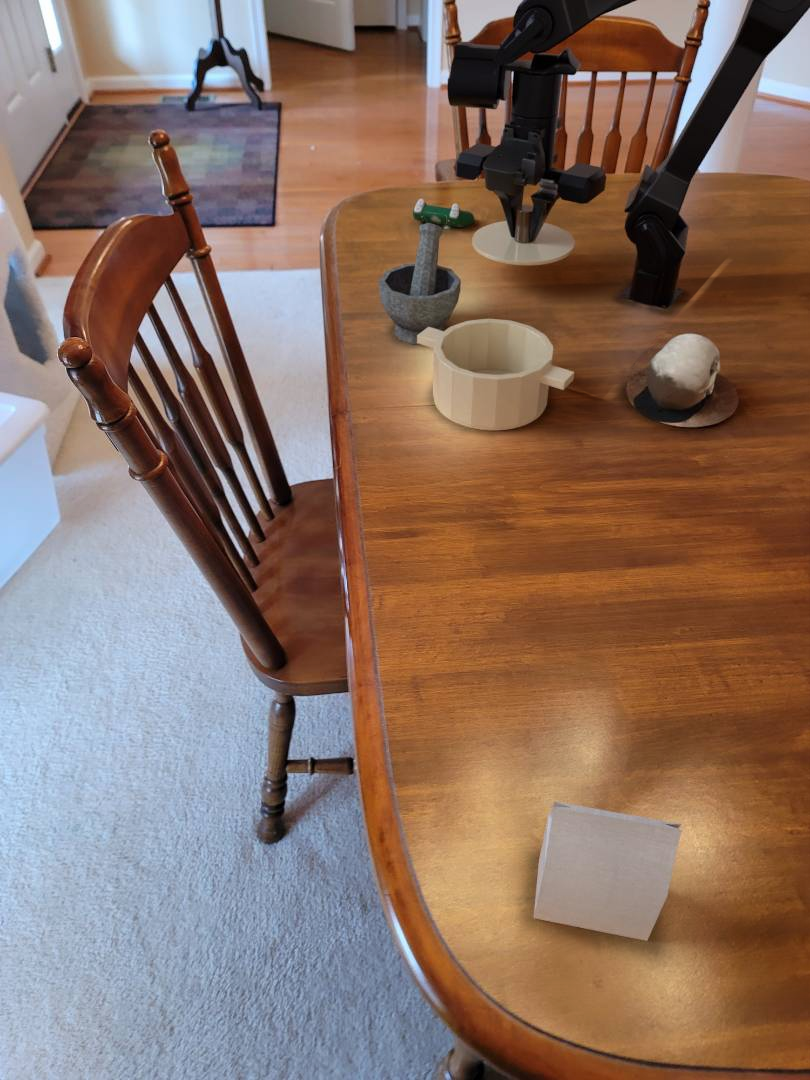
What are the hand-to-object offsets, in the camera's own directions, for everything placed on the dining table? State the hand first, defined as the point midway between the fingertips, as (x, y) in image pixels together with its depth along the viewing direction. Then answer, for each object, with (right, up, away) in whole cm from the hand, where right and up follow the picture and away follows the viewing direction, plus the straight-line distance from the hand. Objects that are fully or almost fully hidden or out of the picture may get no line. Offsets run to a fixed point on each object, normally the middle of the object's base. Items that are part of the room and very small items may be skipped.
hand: (523, 238), depth 111 cm
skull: (+15, -24, -18) cm, 34 cm away
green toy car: (-10, +8, +18) cm, 22 cm away
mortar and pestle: (-14, -14, -6) cm, 20 cm away
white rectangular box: (-4, -63, -59) cm, 86 cm away
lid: (0, -1, 0) cm, 1 cm away
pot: (-6, -24, -18) cm, 31 cm away
